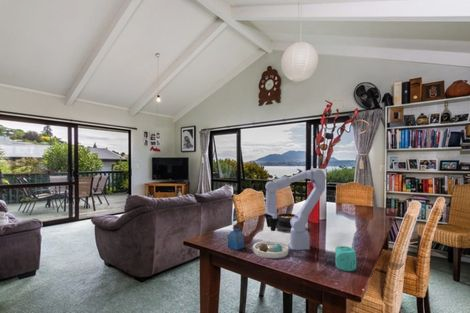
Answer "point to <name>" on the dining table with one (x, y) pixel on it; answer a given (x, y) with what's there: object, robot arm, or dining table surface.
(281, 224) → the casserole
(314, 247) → the dining table surface
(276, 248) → the teal bead
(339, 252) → the decorative dice
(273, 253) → the tray
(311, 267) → the dining table surface
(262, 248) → the walnut bead
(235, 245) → the perfume bottle
